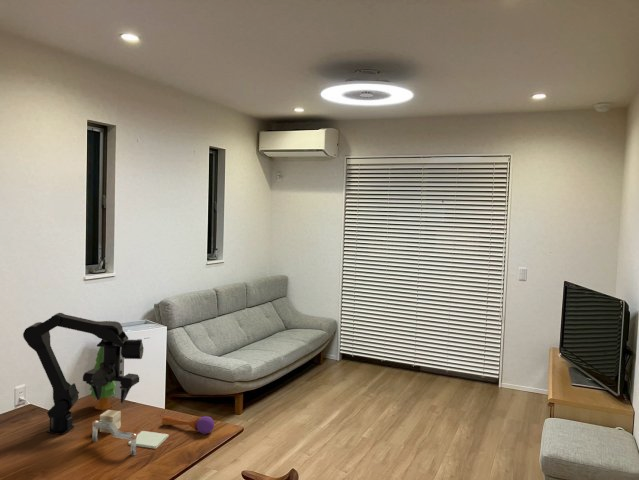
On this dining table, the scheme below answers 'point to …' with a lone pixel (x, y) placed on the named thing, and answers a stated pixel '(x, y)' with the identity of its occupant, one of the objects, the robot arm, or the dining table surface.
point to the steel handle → (114, 433)
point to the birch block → (111, 419)
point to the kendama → (192, 423)
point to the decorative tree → (107, 389)
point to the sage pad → (149, 439)
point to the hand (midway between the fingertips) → (110, 401)
